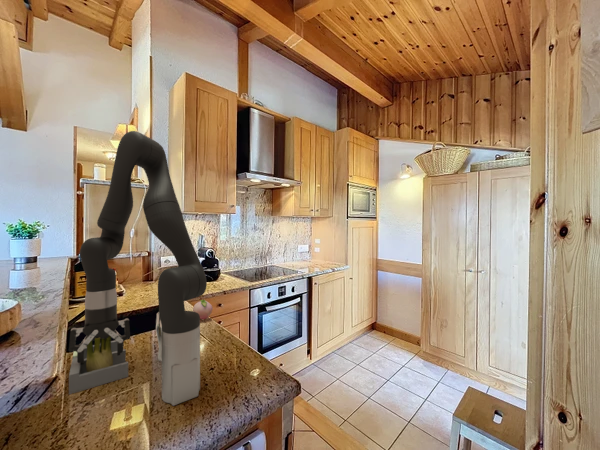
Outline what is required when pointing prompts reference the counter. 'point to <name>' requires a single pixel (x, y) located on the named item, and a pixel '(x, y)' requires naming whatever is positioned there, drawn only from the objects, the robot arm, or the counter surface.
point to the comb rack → (97, 371)
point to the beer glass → (159, 336)
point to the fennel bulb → (99, 354)
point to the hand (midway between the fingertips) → (101, 358)
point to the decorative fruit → (203, 309)
